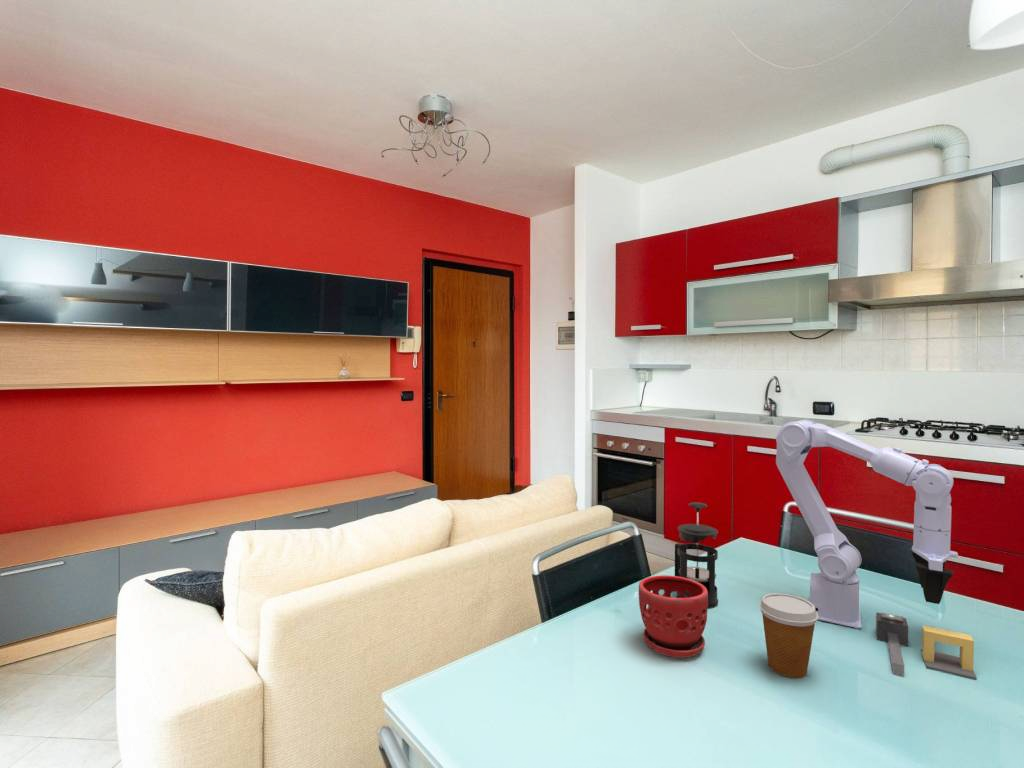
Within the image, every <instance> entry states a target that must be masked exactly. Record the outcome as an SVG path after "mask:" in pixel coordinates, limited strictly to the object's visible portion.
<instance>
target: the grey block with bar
mask: <svg viewBox="0 0 1024 768" xmlns="http://www.w3.org/2000/svg"><path fill="white" fill-rule="evenodd" d="M875 636H876V640H877V641H880V642H881V641H882V642H884V643H885V642H886V644H887V647H888V648H887V649H888V653H889V654H888V655H889V660H890V665H891V671H892V674H893V675H897V676H901V677H905V663H904V658H903V653H902V649H901V646H904V647H909V625H908V621H907V618H906V617H904V616H901V615H895V614H890V613H887V612H886V613H885V612H875Z"/></svg>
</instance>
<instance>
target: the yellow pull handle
mask: <svg viewBox="0 0 1024 768" xmlns="http://www.w3.org/2000/svg"><path fill="white" fill-rule="evenodd" d="M921 639H922V641H921V649H922V652H921V654H922V655H921V656H922V659H923V661H924V660H926V661H931V662H934V652H935V642H937V643H943V644H947V645H952V646H956V647H959V657H960V665H961V667H962V669H965V670H969V671H974V652H975V651H974V649H975V644H974V643H975V642H974V641H975V640H974V639H973V636H972V635H971V634H967V633H964V632H957V631H952V630H947V629H941V628H938V627H933V626H927V625H924V624H923V625H922V638H921Z"/></svg>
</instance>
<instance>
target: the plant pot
mask: <svg viewBox="0 0 1024 768" xmlns="http://www.w3.org/2000/svg"><path fill="white" fill-rule="evenodd" d="M661 590H663V594H661V595H660V591H661ZM685 591H688V592H689V593H690V596H689V597H686V596H685ZM674 592H675V593H677V592H678V593H679V594H680V596H681V598H676V597H671V594H672V593H674ZM638 605H639V611H640V615H641V620H642V623H643V625H644V627H645V629H644V631H643V635H642V636H643V640H644V641H645V643H646V645H647V646H649V648H651V649H652V650H653V651H655V652H657V653H659V654H662V655H664V656H667V657H671V658H690V657H693V656H696V655H697V654H700V653H701V652H702V651H703V649H704V648H705V646H706V639H705V638H704V636H703V633H704V631H705V628H706V624H707V621H708V609H709V608H708V591H707V589H706V587H705V586H703V585H702V584H701V583H699V582H697V581H694V580H691V579H688V578H684V577H678V576H675V575H666V574H665V575H664V574H662V575H654V576H653V575H652V576H648V577H645V578H643V579H642V580H641V581H639V583H638ZM707 608H708V609H707Z"/></svg>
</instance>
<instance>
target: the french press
mask: <svg viewBox="0 0 1024 768" xmlns="http://www.w3.org/2000/svg"><path fill="white" fill-rule="evenodd" d="M688 506H689V507H692V508H695V513H696V523H683V524H681V525H678V526H677V530H678V531H679V538H680V539H681V540H682V541H684V542H686V543H682V542H678V543H675V544H674V576H678V577H684V578H688V579H691V580H694V581H697V582H699V583H701V584H702V585H703V586H705V587H706V589H707V591H708V608H707V610H708V609H713V608H716V607H717V606H718V604H719V599H718V587H717V585H716V584H715V583H716V578H717V574H716V561H717V560H718V559H719V558H718V557H719V556H718V555H719V554H718V553H719V552H718V550H717V549H715V548H714V547H712V546H709V545H705V544H702V543H701V542H703V541H704V540H706V539H707V538H709V537H710V538H713V539H714V540H716V539H717V535H718V534H719V530H718V529H717V528H715V527H714V526H713V527H712V526H710V525H705V524H700V523H699V519H700V518H699V513H700V512H701V509H705V508H707V507H708V505H707V504H706V503H702V502H699V501H698V502H697V501H696V502H690V503H688ZM687 550H696V555H694V554H688V553H687ZM699 550H700V551H704V552H707V553H706V554H707V555H705V556H703V555H702V556H701V555H699ZM688 561H691V562H695V563H696V566H688ZM699 563H706V568H705V567H700V566H699ZM685 596H686V597H689V596H690V593H689V592H688V591H685ZM675 598H681V596H680V594H679V593H678V592H676V596H675Z"/></svg>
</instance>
